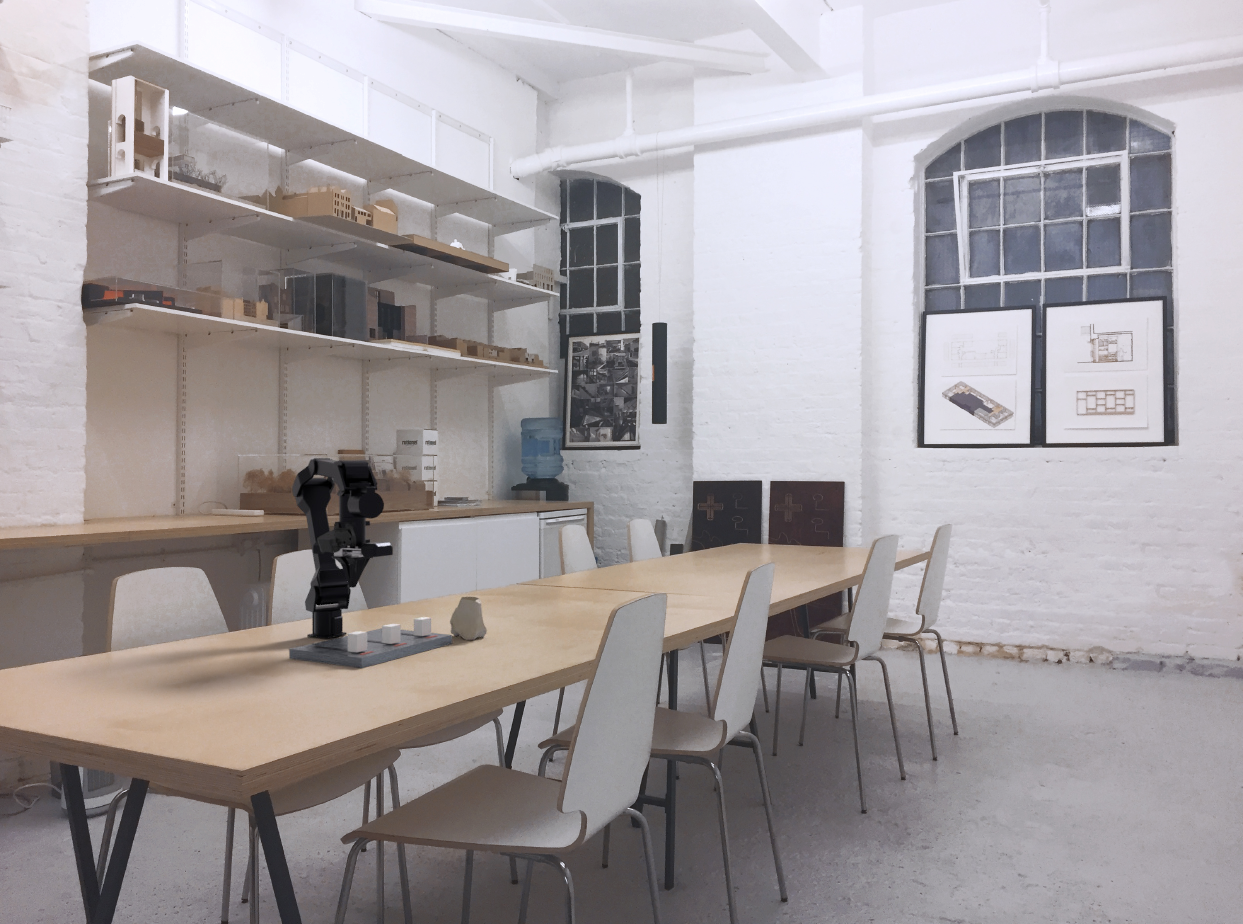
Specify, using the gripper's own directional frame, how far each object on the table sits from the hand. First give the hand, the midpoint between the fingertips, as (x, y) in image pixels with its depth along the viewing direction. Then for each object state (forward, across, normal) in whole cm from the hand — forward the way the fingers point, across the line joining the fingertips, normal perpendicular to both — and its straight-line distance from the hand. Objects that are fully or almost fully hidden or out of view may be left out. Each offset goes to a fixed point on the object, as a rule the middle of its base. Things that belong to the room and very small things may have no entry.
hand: (352, 587), depth 205 cm
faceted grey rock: (+13, +16, +20) cm, 29 cm away
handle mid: (+11, +13, -2) cm, 17 cm away
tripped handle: (+11, +13, -12) cm, 21 cm away
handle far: (+11, +13, +8) cm, 19 cm away
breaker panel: (+13, +8, -2) cm, 15 cm away
